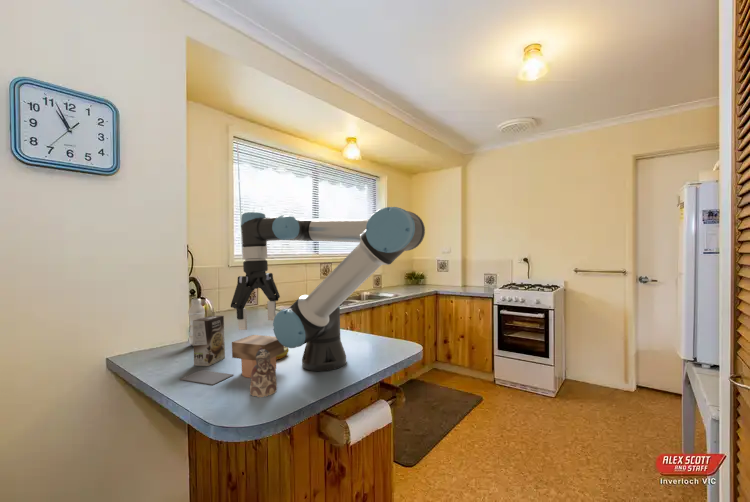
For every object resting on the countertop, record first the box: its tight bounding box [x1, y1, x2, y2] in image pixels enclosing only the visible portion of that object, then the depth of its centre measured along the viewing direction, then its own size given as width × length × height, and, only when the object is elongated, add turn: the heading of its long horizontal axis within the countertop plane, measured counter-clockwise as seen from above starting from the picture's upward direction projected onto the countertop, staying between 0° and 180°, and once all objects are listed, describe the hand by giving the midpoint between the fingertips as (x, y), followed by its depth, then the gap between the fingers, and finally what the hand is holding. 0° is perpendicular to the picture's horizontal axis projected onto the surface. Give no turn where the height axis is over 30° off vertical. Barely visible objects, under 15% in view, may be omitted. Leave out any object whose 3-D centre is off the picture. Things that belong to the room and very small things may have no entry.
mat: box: [179, 369, 234, 386], centre depth 106 cm, size 14×8×1 cm, turn 68°
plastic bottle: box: [187, 297, 206, 347], centre depth 144 cm, size 6×7×20 cm
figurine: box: [249, 347, 278, 398], centre depth 93 cm, size 7×7×12 cm
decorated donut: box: [276, 346, 290, 361], centre depth 124 cm, size 11×12×4 cm
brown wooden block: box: [231, 334, 284, 360], centre depth 109 cm, size 13×10×5 cm
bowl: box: [240, 356, 277, 379], centre depth 109 cm, size 10×10×6 cm
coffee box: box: [192, 315, 226, 367], centre depth 121 cm, size 9×6×16 cm
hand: (258, 324), depth 109 cm, fingers open, 13 cm apart
